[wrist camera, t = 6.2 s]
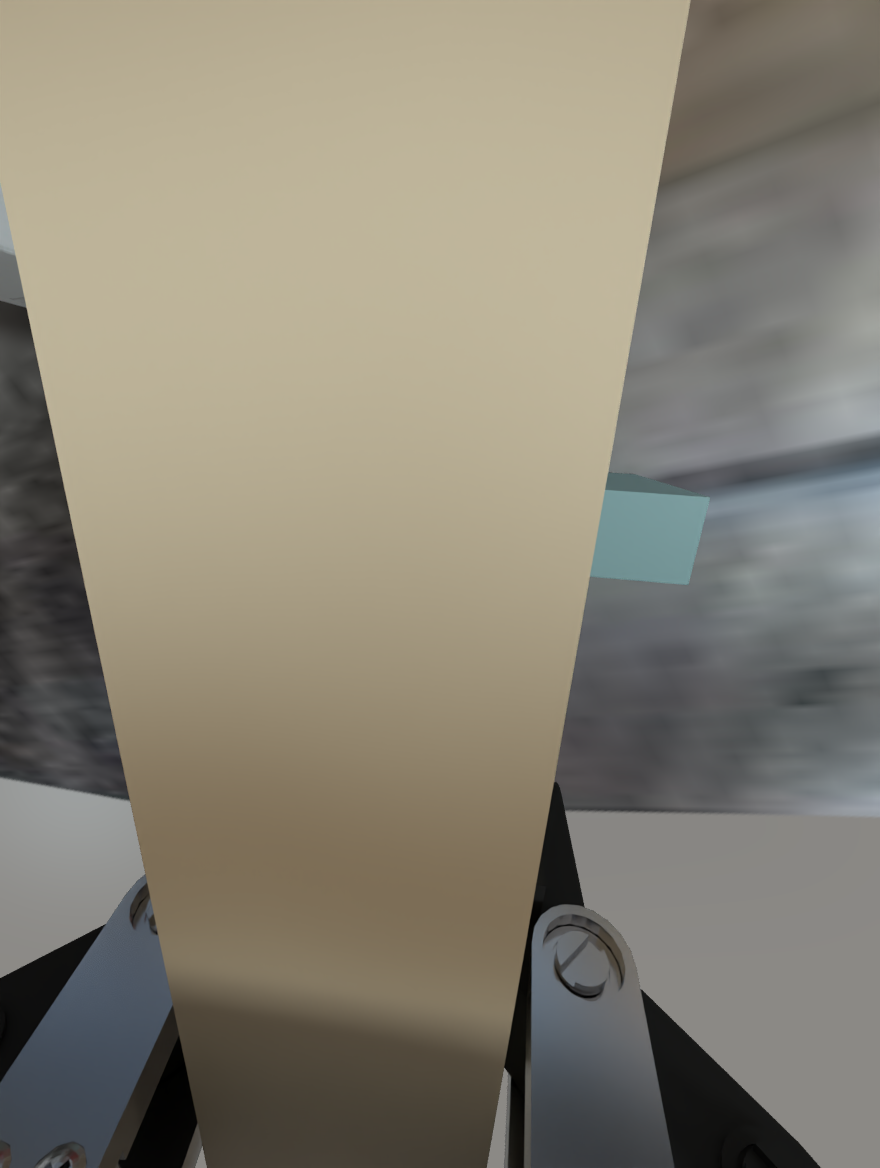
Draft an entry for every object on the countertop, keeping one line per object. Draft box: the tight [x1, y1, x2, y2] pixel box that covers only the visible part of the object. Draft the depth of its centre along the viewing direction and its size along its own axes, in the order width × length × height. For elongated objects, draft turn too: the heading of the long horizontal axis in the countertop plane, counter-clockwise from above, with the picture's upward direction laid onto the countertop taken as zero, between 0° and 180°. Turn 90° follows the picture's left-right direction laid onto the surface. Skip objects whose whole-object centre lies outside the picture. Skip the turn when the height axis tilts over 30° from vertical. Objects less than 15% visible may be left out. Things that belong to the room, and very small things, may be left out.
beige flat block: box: [0, 0, 690, 1168], centre depth 7 cm, size 13×3×8 cm, turn 177°
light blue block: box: [590, 473, 710, 585], centre depth 20 cm, size 16×3×8 cm, turn 87°
